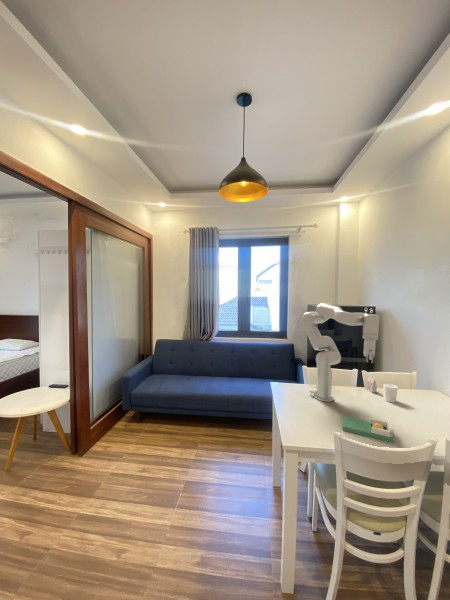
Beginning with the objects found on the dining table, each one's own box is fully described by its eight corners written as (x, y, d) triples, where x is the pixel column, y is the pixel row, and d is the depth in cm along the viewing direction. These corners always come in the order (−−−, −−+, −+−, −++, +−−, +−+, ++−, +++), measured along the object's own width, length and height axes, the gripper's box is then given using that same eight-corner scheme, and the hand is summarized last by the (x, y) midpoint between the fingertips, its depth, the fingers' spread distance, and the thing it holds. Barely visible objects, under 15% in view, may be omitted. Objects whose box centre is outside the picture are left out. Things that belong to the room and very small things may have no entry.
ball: (380, 438, 123) (370, 431, 125) (379, 431, 128) (369, 425, 130) (386, 431, 122) (376, 424, 123) (385, 425, 126) (375, 418, 128)
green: (342, 430, 128) (343, 418, 128) (342, 419, 139) (343, 408, 138) (393, 442, 118) (393, 430, 118) (389, 429, 129) (389, 418, 129)
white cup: (379, 397, 168) (380, 383, 168) (390, 397, 169) (391, 383, 169) (388, 403, 161) (389, 388, 160) (399, 402, 161) (400, 387, 161)
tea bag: (369, 389, 184) (370, 375, 183) (376, 392, 177) (377, 379, 176) (365, 389, 183) (365, 375, 183) (371, 392, 176) (372, 379, 176)
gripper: (361, 333, 147) (360, 363, 147) (363, 337, 132) (362, 371, 133) (376, 334, 143) (374, 365, 144) (380, 339, 129) (378, 374, 129)
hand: (368, 368), depth 138 cm, fingers open, 3 cm apart
